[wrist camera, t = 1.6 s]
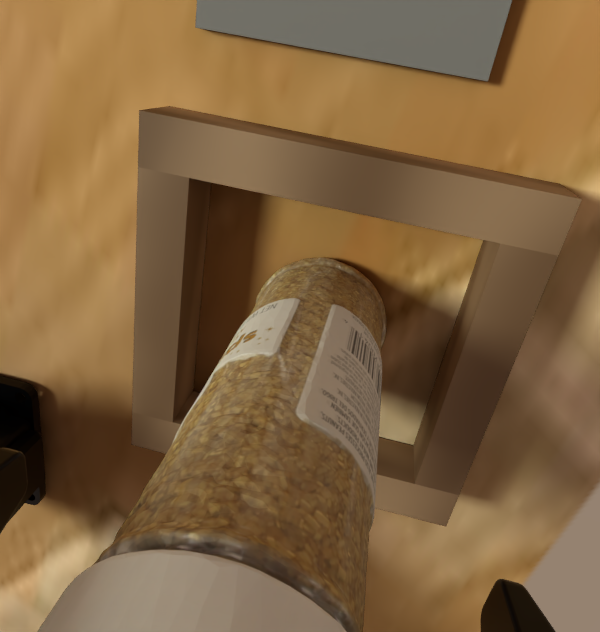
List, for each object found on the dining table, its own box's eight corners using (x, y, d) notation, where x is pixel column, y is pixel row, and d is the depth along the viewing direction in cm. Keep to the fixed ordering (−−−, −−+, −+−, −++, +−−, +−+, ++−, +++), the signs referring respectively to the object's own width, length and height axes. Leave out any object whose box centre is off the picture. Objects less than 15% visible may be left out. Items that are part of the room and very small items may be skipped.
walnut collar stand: (154, 412, 21) (131, 444, 19) (169, 106, 16) (139, 110, 14) (441, 485, 20) (446, 526, 18) (559, 183, 15) (581, 199, 13)
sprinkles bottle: (251, 253, 17) (-101, 676, 5) (391, 254, 16) (365, 760, 4) (262, 372, 19) (24, 885, 7) (387, 378, 18) (362, 970, 6)
